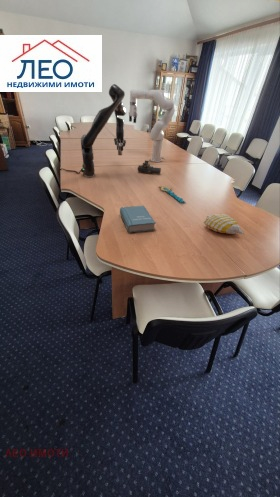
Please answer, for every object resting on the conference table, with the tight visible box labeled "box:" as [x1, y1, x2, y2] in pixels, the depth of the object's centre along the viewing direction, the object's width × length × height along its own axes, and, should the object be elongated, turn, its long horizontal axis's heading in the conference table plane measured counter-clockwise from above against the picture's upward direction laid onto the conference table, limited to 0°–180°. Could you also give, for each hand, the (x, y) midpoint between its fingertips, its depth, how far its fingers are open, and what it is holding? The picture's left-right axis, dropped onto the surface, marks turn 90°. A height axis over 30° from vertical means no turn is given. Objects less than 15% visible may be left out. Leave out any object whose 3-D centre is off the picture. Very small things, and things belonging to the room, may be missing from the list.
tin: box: [117, 144, 123, 156], centre depth 221 cm, size 4×4×9 cm
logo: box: [158, 185, 186, 204], centre depth 176 cm, size 34×10×1 cm, turn 16°
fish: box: [203, 213, 245, 235], centre depth 133 cm, size 25×8×20 cm
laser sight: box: [137, 160, 162, 175], centre depth 213 cm, size 10×22×10 cm, turn 78°
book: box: [119, 205, 156, 233], centre depth 136 cm, size 23×16×5 cm
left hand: (119, 150), depth 221 cm, fingers closed on tin, 4 cm apart
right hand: (132, 122), depth 248 cm, fingers open, 9 cm apart
